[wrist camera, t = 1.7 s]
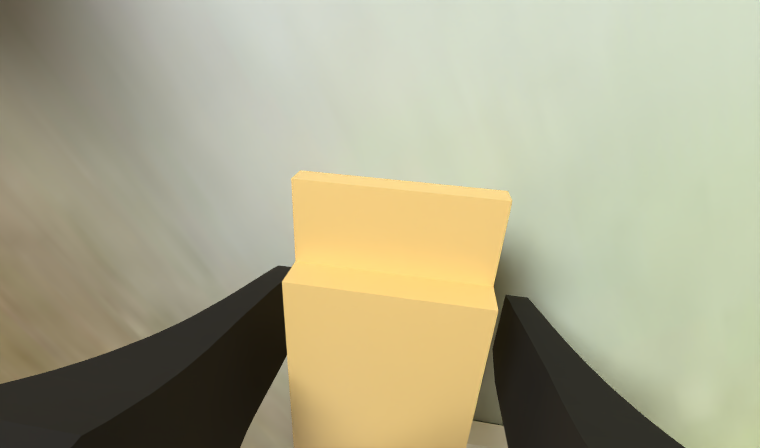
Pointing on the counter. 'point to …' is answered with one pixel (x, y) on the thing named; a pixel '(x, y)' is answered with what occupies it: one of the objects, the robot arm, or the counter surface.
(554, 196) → the counter surface
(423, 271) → the block
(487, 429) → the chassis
